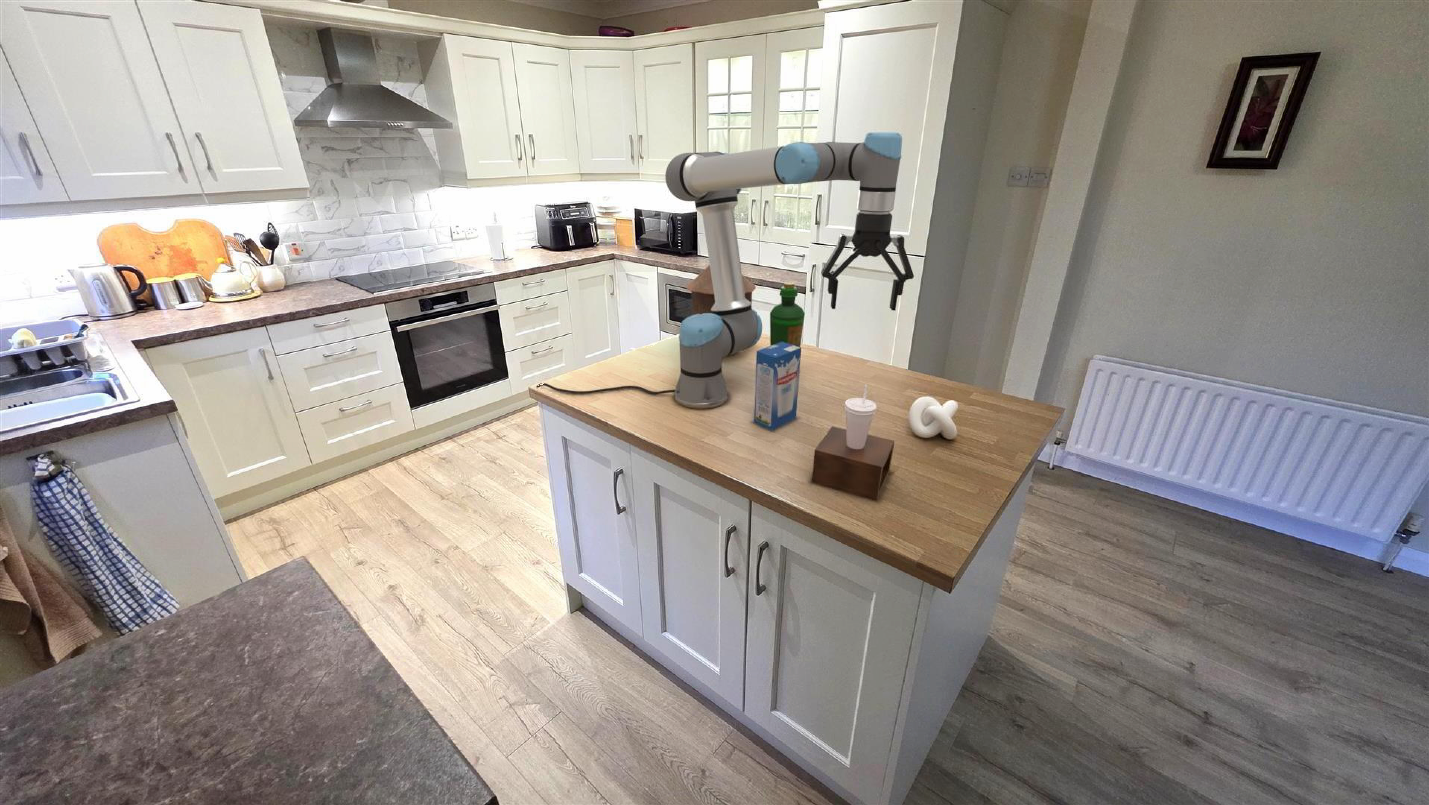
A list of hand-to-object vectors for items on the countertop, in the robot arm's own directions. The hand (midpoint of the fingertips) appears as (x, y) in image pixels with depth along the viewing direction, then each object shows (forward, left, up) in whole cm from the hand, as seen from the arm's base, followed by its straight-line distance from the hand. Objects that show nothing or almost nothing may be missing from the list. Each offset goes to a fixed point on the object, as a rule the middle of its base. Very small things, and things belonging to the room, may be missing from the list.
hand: (862, 308), depth 127 cm
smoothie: (+7, -22, -24) cm, 33 cm away
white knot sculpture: (+20, +8, -32) cm, 38 cm away
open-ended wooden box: (+7, -22, -32) cm, 39 cm away
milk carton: (-18, -5, -32) cm, 37 cm away
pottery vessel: (-55, +36, -32) cm, 73 cm away
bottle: (-29, +29, -32) cm, 52 cm away
